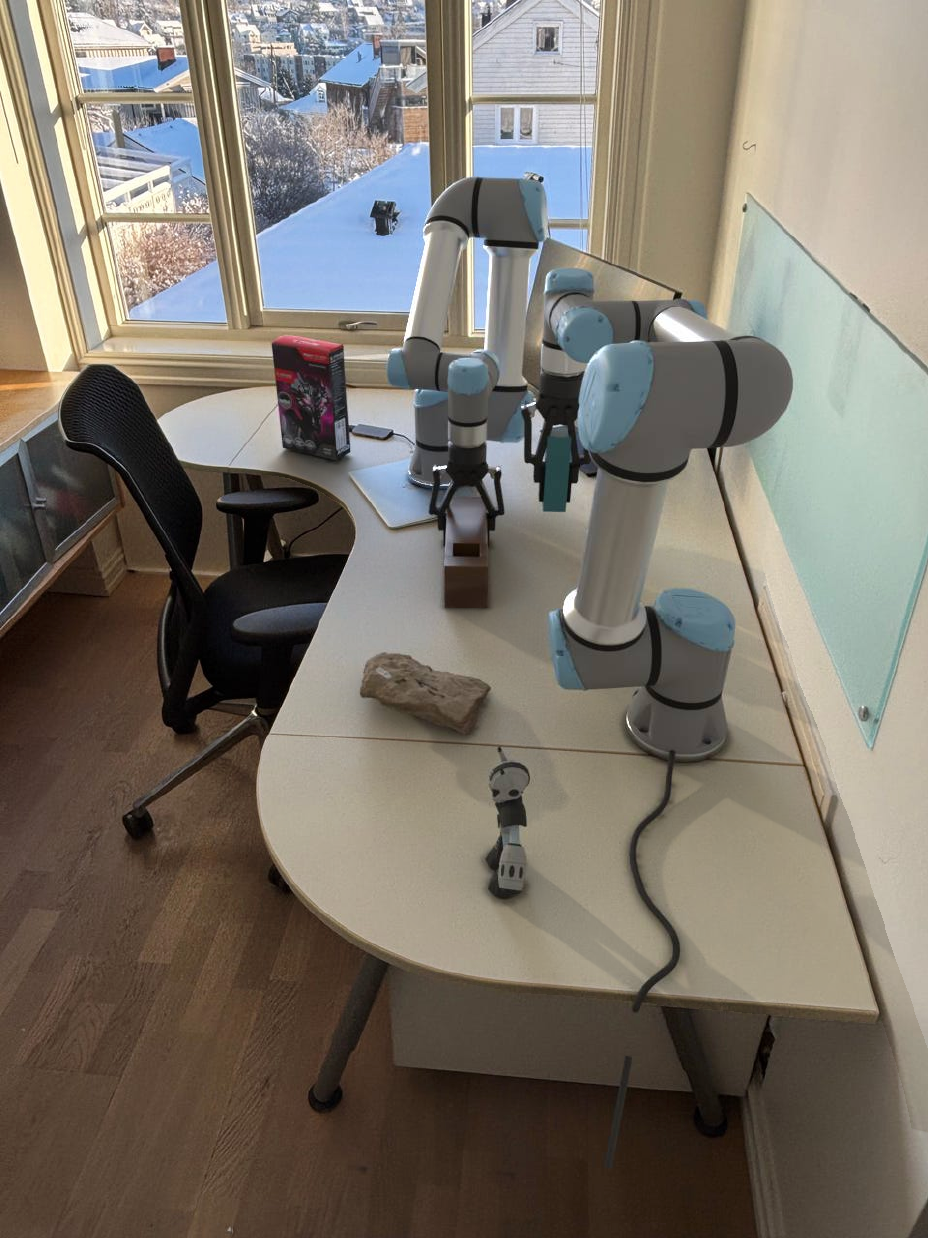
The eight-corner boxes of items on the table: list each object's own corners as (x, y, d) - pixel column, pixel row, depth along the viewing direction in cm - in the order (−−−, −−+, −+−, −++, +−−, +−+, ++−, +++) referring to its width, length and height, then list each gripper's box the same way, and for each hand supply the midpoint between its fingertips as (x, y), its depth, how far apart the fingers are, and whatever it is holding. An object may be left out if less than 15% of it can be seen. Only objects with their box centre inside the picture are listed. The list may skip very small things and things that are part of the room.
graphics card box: (280, 449, 231) (268, 340, 216) (296, 439, 236) (286, 332, 221) (337, 462, 224) (328, 351, 209) (352, 452, 229) (345, 343, 214)
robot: (531, 936, 111) (540, 818, 100) (491, 937, 111) (496, 820, 100) (516, 817, 127) (522, 704, 116) (481, 818, 127) (484, 705, 116)
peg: (565, 512, 162) (571, 437, 154) (542, 511, 162) (547, 437, 155) (564, 501, 166) (570, 428, 158) (542, 501, 166) (546, 427, 158)
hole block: (487, 608, 172) (488, 566, 167) (444, 607, 172) (444, 565, 167) (485, 535, 195) (486, 497, 190) (447, 535, 195) (447, 496, 190)
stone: (334, 705, 142) (341, 671, 140) (369, 669, 156) (376, 637, 153) (461, 752, 139) (471, 718, 136) (486, 710, 152) (495, 679, 150)
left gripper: (520, 433, 182) (515, 535, 195) (414, 432, 182) (417, 534, 195) (522, 449, 176) (517, 553, 188) (412, 448, 176) (415, 552, 188)
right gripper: (613, 362, 153) (600, 490, 166) (510, 360, 153) (505, 488, 166) (618, 378, 147) (604, 509, 160) (511, 376, 147) (506, 507, 160)
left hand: (466, 543), depth 191 cm, fingers closed on hole block, 8 cm apart
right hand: (554, 498), depth 163 cm, fingers closed on peg, 4 cm apart
